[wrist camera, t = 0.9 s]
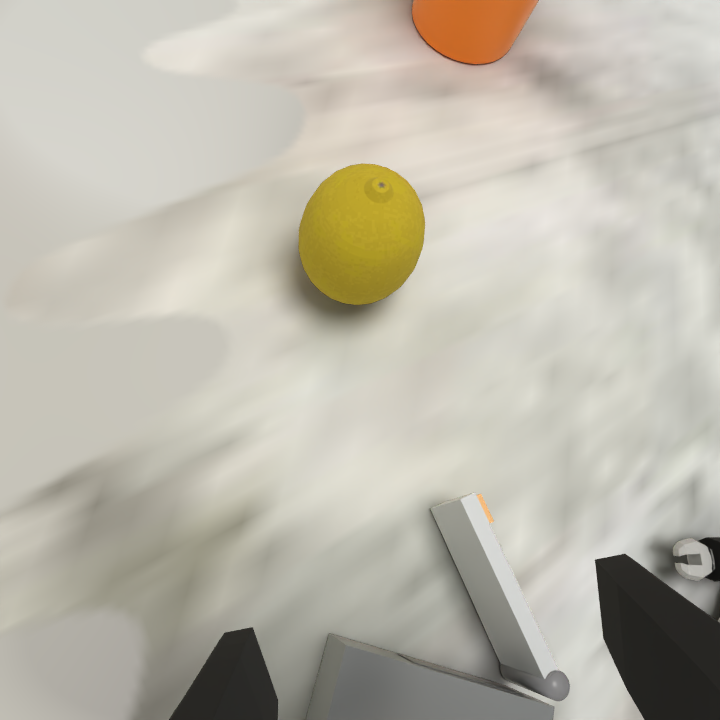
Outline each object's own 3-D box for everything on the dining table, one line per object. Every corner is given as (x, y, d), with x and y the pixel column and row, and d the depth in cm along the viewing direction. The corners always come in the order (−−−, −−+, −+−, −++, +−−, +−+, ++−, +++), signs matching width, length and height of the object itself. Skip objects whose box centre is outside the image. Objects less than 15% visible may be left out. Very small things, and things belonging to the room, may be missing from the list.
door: (507, 686, 24) (552, 706, 21) (427, 509, 26) (457, 500, 23) (534, 669, 25) (583, 686, 21) (454, 497, 27) (487, 486, 23)
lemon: (305, 338, 28) (330, 256, 21) (280, 240, 30) (295, 131, 22) (409, 319, 30) (467, 236, 22) (380, 227, 31) (425, 120, 24)
